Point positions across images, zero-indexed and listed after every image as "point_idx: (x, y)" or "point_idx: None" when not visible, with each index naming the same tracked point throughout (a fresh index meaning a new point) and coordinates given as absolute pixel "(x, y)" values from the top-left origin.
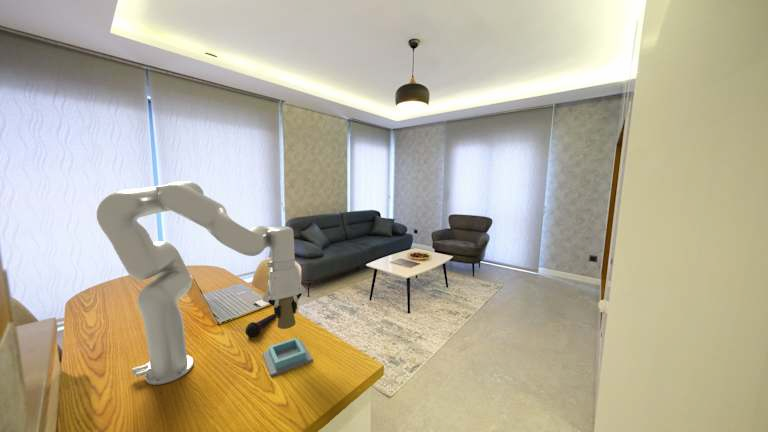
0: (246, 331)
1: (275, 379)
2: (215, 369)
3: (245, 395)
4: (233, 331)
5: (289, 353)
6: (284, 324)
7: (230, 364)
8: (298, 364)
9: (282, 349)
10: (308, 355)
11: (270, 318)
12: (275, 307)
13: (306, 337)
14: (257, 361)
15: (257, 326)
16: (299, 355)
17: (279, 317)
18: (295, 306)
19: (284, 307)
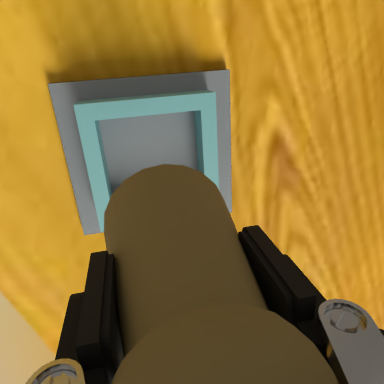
0: None
1: (213, 44)
2: (358, 192)
3: (317, 13)
4: None
5: (142, 166)
6: (196, 183)
7: (321, 198)
8: (116, 78)
9: None
10: (64, 117)
11: None
12: (339, 299)
13: (59, 250)
14: (250, 178)
15: None
16: (106, 101)
17: (246, 227)
18: (83, 303)
19: (231, 287)
